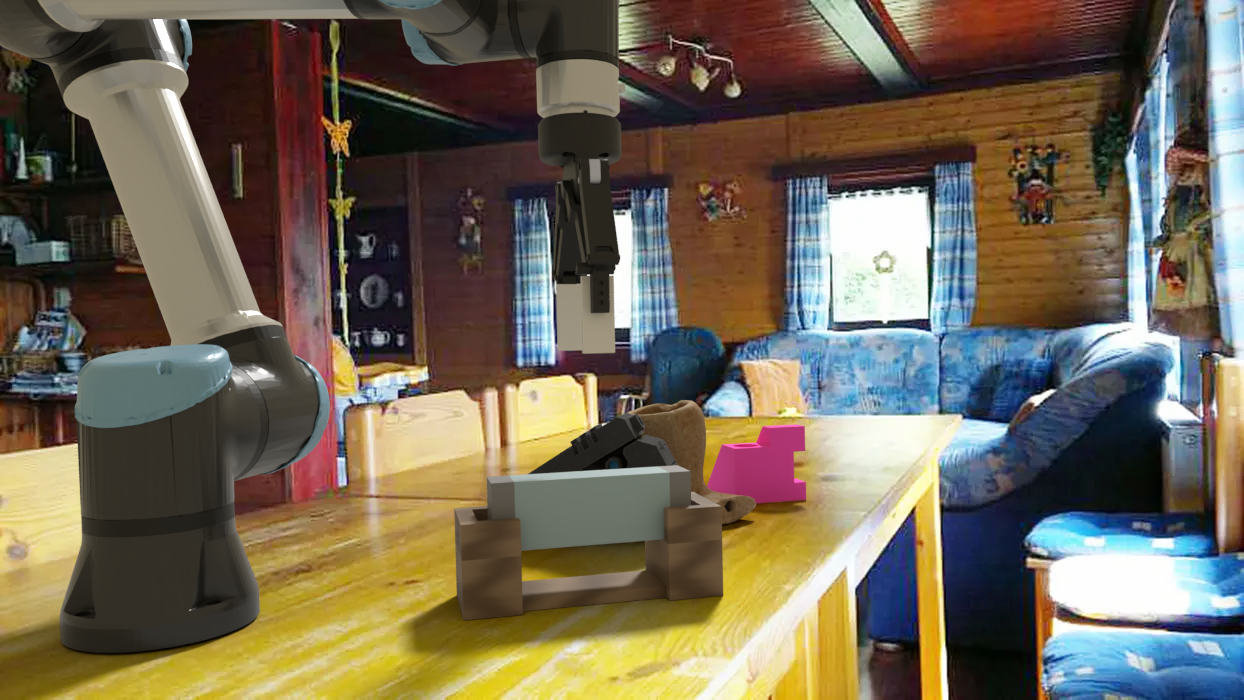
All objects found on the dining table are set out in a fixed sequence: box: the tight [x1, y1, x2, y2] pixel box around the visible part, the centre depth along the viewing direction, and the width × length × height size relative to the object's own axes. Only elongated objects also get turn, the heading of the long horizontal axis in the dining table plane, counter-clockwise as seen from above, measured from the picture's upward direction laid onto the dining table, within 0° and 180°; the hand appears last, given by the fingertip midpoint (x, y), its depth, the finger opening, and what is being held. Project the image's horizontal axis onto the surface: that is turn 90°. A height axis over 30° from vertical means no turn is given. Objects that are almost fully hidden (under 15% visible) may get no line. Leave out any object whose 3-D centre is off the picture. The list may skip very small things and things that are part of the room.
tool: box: [528, 412, 677, 474], centre depth 107 cm, size 6×19×15 cm, turn 79°
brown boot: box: [627, 399, 757, 525], centre depth 118 cm, size 15×12×15 cm
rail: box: [486, 465, 691, 552], centre depth 85 cm, size 18×4×6 cm, turn 104°
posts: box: [453, 492, 724, 621], centre depth 85 cm, size 23×8×8 cm, turn 104°
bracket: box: [706, 424, 807, 504], centre depth 135 cm, size 12×10×10 cm
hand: (584, 352), depth 86 cm, fingers open, 13 cm apart
